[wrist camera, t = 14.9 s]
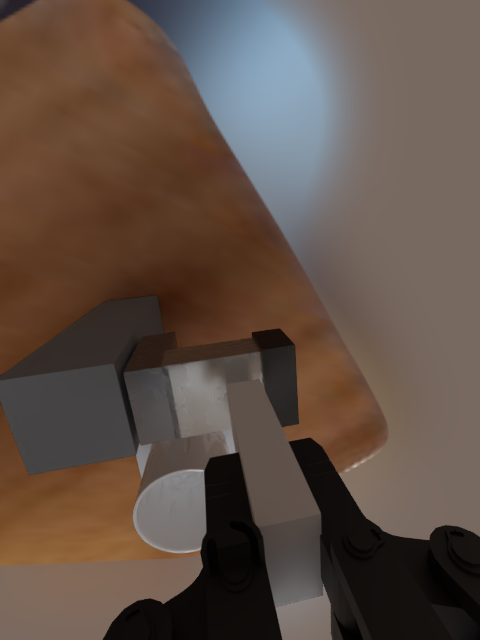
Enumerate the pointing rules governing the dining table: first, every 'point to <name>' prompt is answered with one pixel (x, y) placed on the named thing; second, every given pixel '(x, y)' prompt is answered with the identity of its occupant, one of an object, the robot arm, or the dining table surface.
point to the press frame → (82, 390)
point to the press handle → (206, 383)
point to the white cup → (176, 492)
